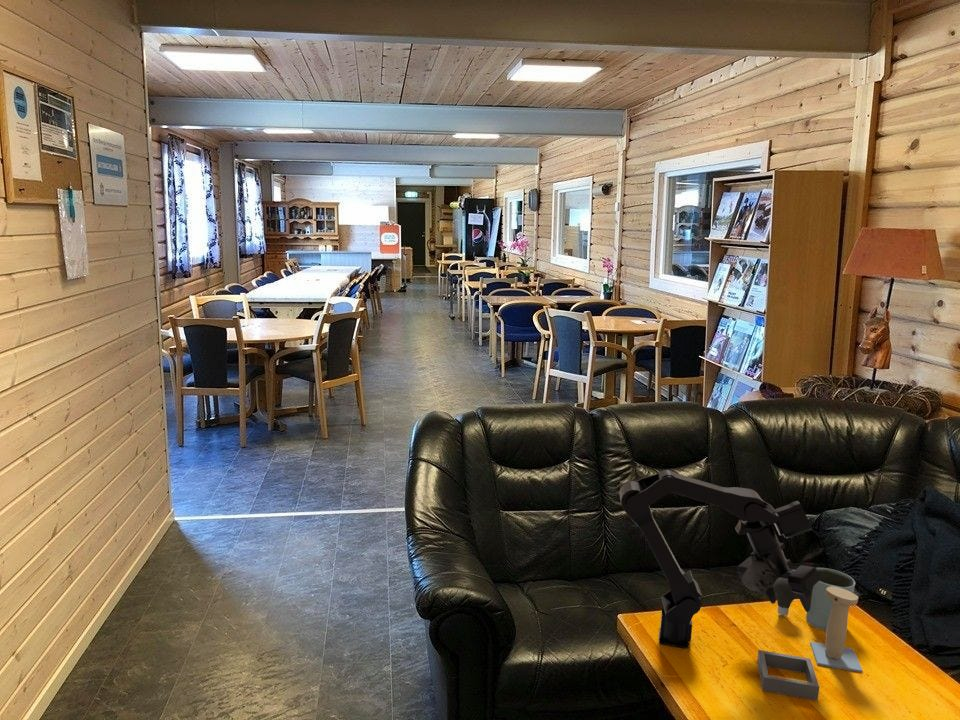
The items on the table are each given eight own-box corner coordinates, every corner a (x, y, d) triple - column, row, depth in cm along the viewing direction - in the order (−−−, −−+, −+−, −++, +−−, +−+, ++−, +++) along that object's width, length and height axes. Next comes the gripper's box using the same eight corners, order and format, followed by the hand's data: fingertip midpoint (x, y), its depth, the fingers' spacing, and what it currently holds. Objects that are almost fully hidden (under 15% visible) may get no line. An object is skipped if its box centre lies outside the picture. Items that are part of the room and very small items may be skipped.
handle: (841, 666, 157) (851, 602, 155) (813, 652, 163) (822, 589, 160) (852, 659, 160) (862, 596, 158) (824, 646, 165) (833, 584, 163)
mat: (817, 664, 159) (817, 662, 159) (810, 643, 167) (810, 641, 167) (862, 672, 156) (862, 670, 156) (852, 650, 165) (853, 648, 165)
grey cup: (795, 612, 181) (800, 567, 179) (833, 611, 182) (839, 567, 180) (818, 634, 171) (824, 587, 169) (858, 633, 172) (864, 586, 170)
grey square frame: (762, 690, 149) (763, 677, 148) (757, 662, 159) (758, 649, 158) (817, 700, 146) (819, 687, 146) (808, 671, 156) (810, 658, 156)
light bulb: (796, 623, 176) (801, 584, 174) (772, 620, 177) (776, 581, 175) (792, 611, 181) (796, 574, 180) (768, 608, 183) (772, 571, 181)
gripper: (710, 557, 165) (735, 617, 166) (777, 569, 148) (804, 636, 150) (741, 533, 170) (765, 591, 171) (809, 542, 153) (835, 607, 155)
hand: (790, 606), depth 162 cm, fingers open, 9 cm apart
